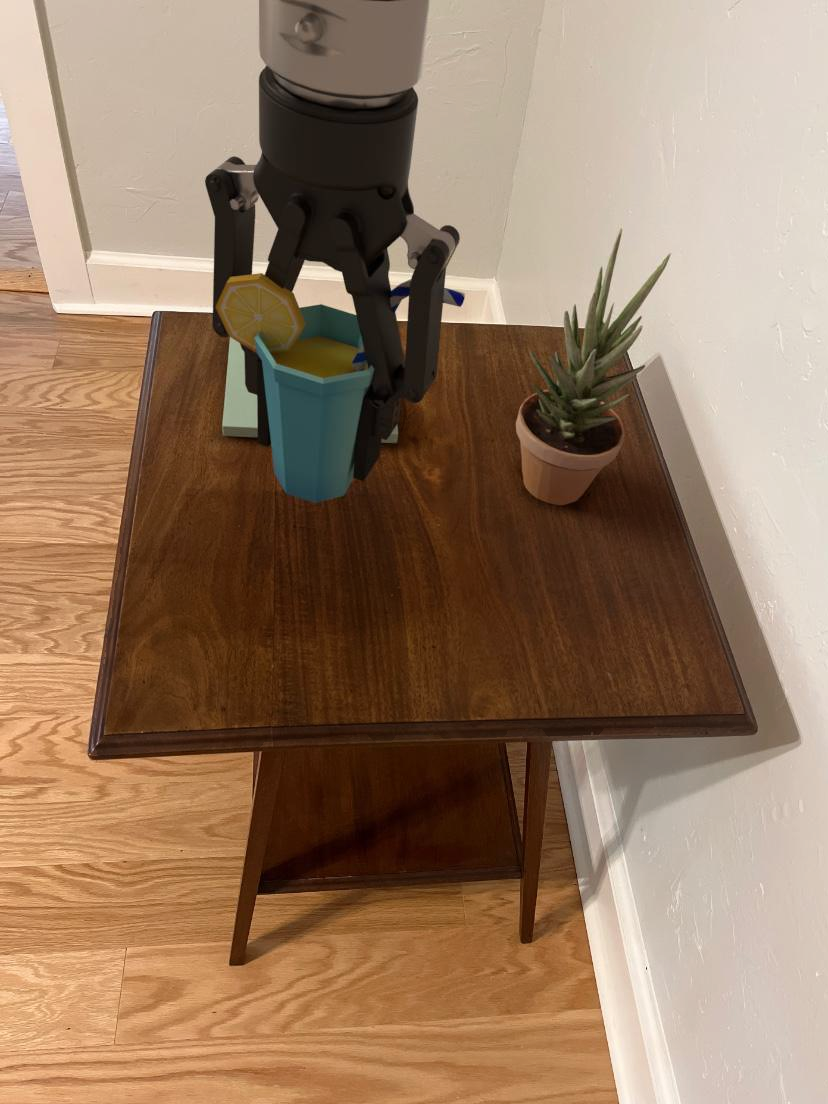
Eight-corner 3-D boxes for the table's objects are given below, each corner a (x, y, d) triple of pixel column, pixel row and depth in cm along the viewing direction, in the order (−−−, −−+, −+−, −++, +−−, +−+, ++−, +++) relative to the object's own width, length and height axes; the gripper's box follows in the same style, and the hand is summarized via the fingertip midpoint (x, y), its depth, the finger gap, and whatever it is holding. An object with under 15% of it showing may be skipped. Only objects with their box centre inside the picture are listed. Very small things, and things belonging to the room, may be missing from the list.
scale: (222, 436, 83) (221, 410, 81) (230, 345, 92) (229, 319, 89) (397, 443, 86) (400, 418, 83) (388, 354, 95) (391, 329, 92)
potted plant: (606, 461, 88) (693, 219, 70) (599, 528, 82) (693, 282, 64) (506, 438, 88) (566, 190, 70) (491, 502, 82) (553, 250, 64)
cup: (425, 442, 65) (458, 248, 54) (435, 520, 60) (474, 324, 49) (224, 432, 62) (215, 226, 51) (218, 512, 58) (206, 304, 46)
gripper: (113, 41, 41) (158, 435, 59) (509, 165, 39) (434, 535, 57) (196, -3, 46) (216, 374, 63) (552, 106, 44) (471, 463, 62)
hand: (318, 449), depth 60 cm, fingers closed on cup, 6 cm apart
